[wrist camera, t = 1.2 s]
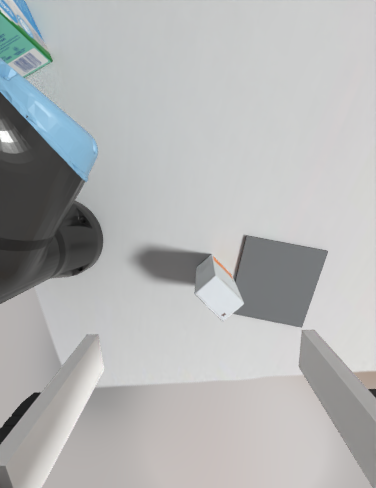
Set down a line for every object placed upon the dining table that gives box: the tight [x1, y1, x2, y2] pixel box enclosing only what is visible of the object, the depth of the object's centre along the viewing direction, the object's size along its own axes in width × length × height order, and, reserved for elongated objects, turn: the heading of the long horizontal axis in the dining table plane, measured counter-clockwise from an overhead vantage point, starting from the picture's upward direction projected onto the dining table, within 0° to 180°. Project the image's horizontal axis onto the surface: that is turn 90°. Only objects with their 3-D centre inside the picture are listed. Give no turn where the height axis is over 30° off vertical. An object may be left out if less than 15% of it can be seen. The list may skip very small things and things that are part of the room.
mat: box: [233, 235, 328, 327], centre depth 39 cm, size 15×16×1 cm
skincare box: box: [194, 254, 244, 321], centre depth 33 cm, size 6×4×12 cm
